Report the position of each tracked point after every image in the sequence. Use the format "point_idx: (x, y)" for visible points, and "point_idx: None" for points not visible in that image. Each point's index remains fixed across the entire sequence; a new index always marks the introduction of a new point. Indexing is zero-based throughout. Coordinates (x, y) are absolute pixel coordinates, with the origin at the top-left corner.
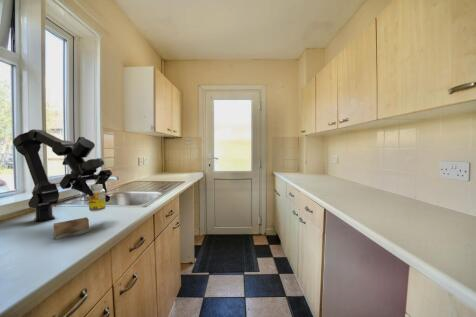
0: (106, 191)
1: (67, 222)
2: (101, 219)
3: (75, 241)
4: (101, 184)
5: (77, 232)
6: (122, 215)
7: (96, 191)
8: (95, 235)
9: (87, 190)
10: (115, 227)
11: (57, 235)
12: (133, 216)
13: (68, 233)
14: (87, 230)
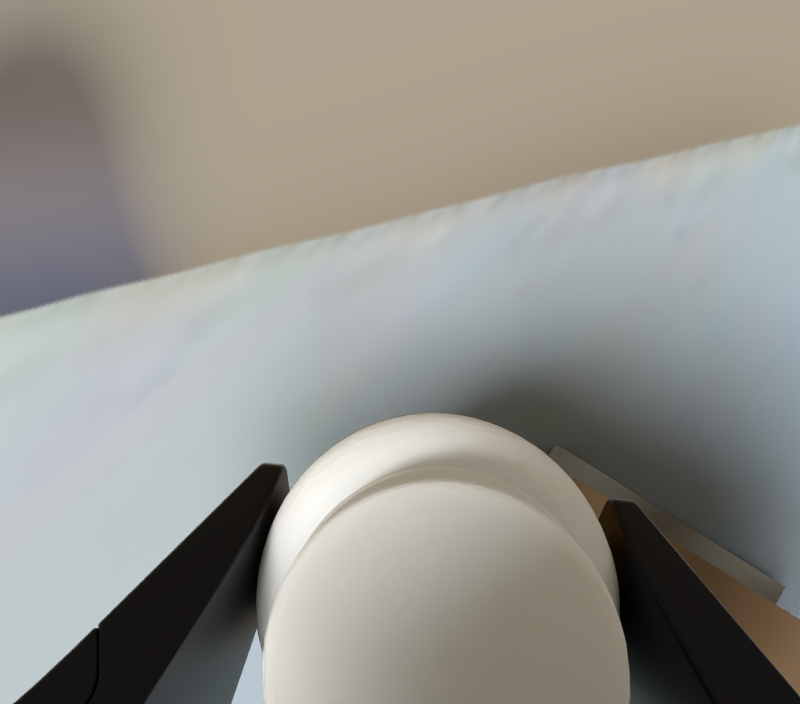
0: (274, 464)
1: None
2: None
3: (747, 373)
4: (326, 567)
5: (638, 496)
6: (87, 512)
7: (567, 476)
8: (608, 323)
9: (738, 653)
10: (414, 306)
11: (763, 592)
12: (105, 371)
13: (698, 538)
14: (572, 454)
